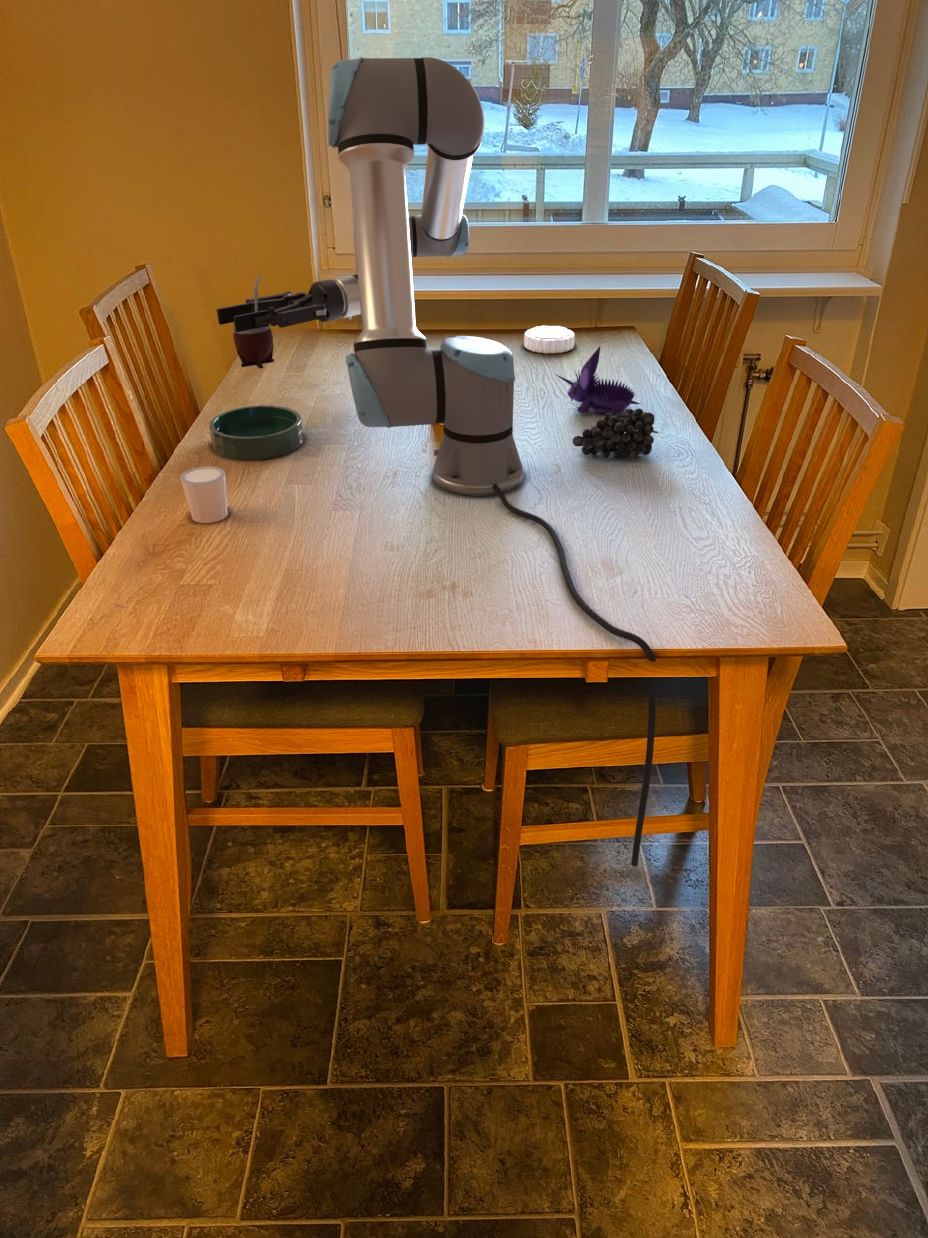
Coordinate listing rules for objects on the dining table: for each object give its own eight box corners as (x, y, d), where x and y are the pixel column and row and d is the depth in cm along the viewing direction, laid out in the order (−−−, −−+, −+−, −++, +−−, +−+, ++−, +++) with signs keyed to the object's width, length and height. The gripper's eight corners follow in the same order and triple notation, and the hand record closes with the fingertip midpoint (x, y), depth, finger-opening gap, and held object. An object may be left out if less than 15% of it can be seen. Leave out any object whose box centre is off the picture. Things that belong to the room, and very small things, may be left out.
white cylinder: (220, 526, 146) (213, 485, 142) (180, 522, 147) (172, 482, 143) (238, 507, 152) (232, 467, 148) (199, 503, 153) (191, 464, 149)
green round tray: (305, 456, 169) (303, 434, 167) (211, 463, 166) (207, 441, 164) (300, 422, 183) (298, 402, 180) (214, 429, 180) (210, 408, 178)
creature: (553, 399, 192) (556, 340, 186) (641, 404, 190) (647, 344, 183) (549, 415, 185) (552, 354, 178) (641, 420, 183) (647, 358, 176)
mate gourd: (243, 371, 172) (228, 287, 164) (234, 361, 178) (219, 279, 170) (282, 365, 174) (269, 282, 167) (273, 354, 181) (260, 274, 173)
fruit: (574, 410, 162) (661, 408, 161) (570, 409, 170) (653, 406, 169) (574, 461, 164) (660, 458, 163) (570, 457, 172) (652, 455, 171)
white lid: (547, 335, 230) (548, 321, 228) (584, 346, 223) (585, 331, 221) (513, 345, 224) (513, 330, 222) (550, 357, 216) (550, 341, 214)
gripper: (363, 328, 177) (254, 353, 165) (311, 309, 189) (206, 330, 177) (361, 288, 173) (248, 309, 161) (308, 270, 185) (200, 289, 173)
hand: (226, 320), depth 169 cm, fingers closed on mate gourd, 6 cm apart
